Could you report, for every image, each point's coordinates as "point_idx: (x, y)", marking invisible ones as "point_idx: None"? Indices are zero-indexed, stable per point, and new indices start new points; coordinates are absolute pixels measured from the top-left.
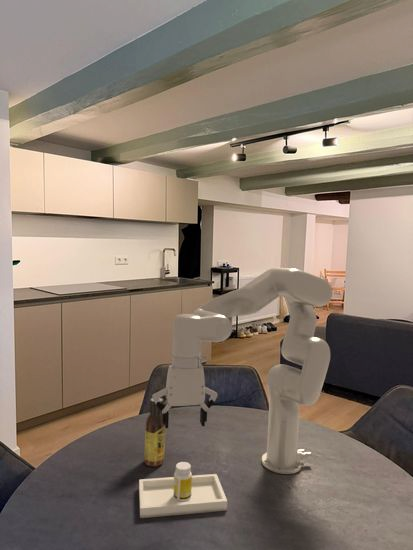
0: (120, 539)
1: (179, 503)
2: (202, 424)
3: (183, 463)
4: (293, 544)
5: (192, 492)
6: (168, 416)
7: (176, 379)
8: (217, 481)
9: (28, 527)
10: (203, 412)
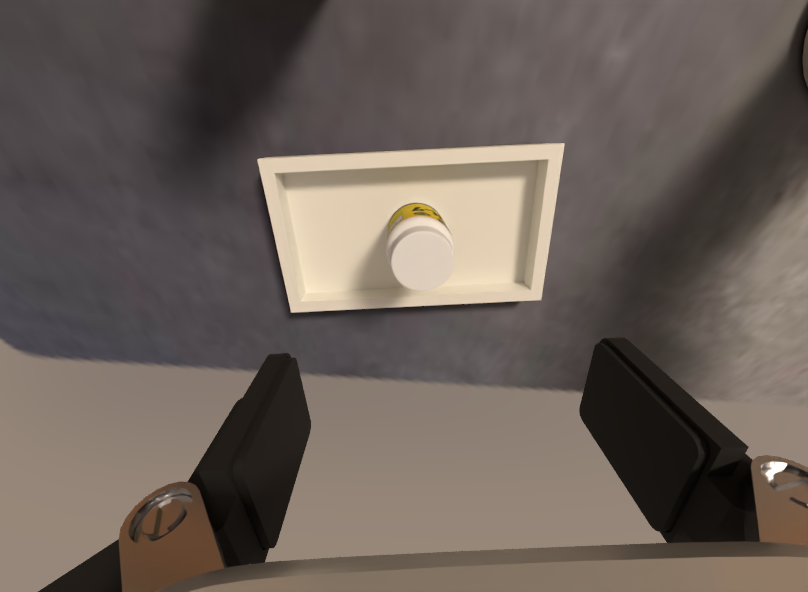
0: None
1: (401, 300)
2: (589, 424)
3: (425, 246)
4: None
5: (451, 211)
6: (281, 522)
7: None
8: (548, 197)
9: (25, 309)
10: (667, 541)
